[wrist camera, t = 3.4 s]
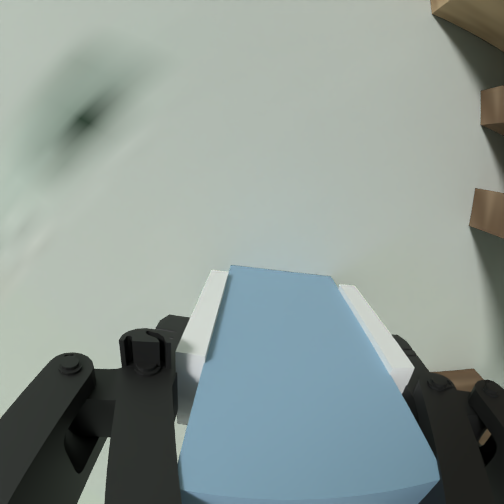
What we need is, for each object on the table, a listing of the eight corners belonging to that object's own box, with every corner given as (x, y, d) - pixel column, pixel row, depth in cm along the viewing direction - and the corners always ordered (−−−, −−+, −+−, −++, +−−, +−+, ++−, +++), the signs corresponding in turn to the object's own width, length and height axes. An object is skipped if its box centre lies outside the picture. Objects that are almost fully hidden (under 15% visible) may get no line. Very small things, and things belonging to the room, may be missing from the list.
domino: (230, 265, 15) (171, 487, 4) (330, 276, 15) (445, 477, 4) (226, 305, 16) (179, 531, 4) (322, 315, 16) (398, 526, 4)
